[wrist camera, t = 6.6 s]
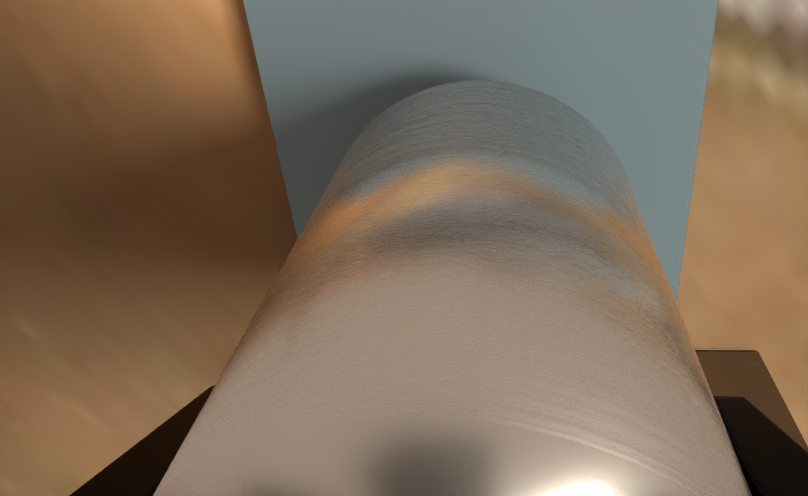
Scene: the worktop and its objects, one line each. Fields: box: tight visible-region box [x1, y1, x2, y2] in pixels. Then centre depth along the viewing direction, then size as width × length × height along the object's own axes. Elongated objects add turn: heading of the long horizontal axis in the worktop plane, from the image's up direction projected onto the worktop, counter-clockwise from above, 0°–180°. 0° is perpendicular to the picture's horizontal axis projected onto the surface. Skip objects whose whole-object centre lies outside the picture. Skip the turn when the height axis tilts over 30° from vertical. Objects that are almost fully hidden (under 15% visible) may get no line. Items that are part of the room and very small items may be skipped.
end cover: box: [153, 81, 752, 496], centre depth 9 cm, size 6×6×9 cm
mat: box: [243, 0, 718, 301], centre depth 14 cm, size 9×9×1 cm
